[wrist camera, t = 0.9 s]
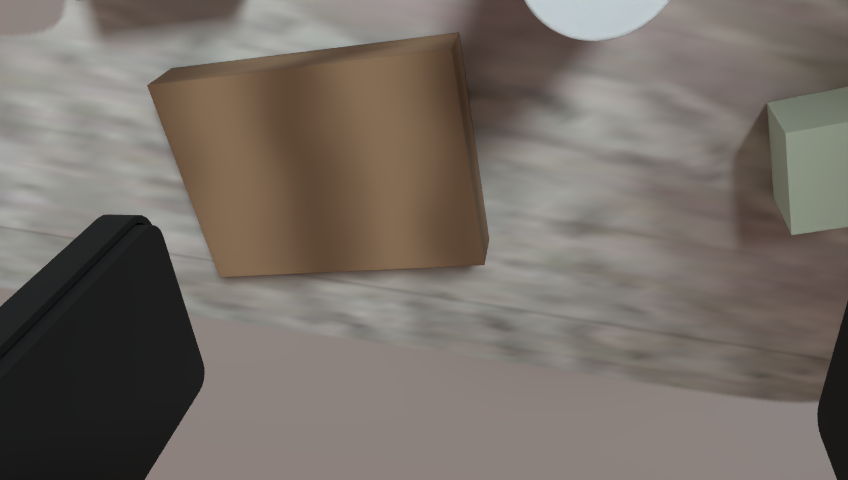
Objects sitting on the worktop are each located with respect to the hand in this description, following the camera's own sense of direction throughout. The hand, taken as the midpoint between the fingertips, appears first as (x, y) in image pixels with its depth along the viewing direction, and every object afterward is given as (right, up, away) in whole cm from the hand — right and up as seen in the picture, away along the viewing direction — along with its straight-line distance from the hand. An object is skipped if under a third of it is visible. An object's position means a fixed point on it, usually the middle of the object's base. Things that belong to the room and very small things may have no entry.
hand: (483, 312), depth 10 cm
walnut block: (-5, +5, +20) cm, 21 cm away
